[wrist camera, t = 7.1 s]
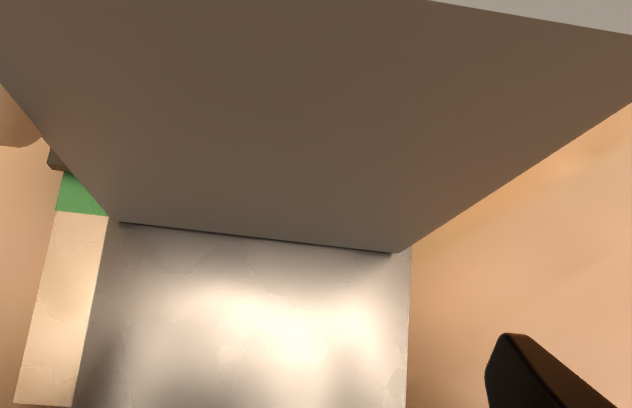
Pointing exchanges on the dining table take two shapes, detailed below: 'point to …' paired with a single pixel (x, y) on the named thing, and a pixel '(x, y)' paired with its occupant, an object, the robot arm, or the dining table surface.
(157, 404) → the base
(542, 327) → the dining table surface
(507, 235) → the dining table surface
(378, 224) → the gauge carriage
